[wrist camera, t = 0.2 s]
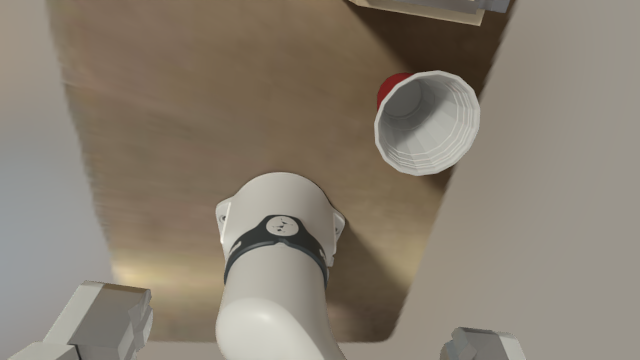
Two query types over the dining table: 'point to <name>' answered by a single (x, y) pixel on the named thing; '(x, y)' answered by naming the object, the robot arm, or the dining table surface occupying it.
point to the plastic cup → (425, 121)
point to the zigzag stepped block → (440, 8)
